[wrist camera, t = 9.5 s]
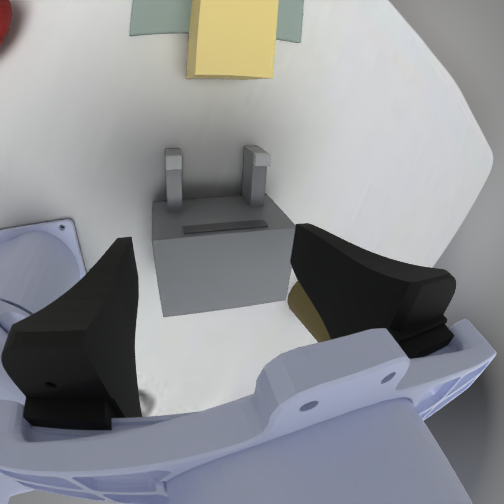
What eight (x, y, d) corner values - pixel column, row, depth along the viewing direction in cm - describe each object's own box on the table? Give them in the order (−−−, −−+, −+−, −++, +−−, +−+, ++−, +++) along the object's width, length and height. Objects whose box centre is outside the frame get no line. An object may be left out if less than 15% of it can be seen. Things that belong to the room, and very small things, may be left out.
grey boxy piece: (159, 267, 24) (163, 317, 19) (149, 149, 19) (146, 173, 14) (260, 257, 27) (285, 299, 22) (270, 146, 21) (306, 167, 17)
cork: (318, 260, 29) (380, 338, 20) (346, 285, 32) (401, 354, 23) (276, 301, 30) (323, 387, 21) (308, 320, 34) (353, 394, 25)
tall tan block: (186, 78, 17) (195, 74, 12) (194, -23, 12) (207, -54, 8) (244, 79, 18) (272, 78, 13) (252, -18, 14) (281, -44, 9)
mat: (130, 36, 14) (129, 35, 14) (137, -29, 11) (137, -31, 11) (298, 43, 17) (300, 42, 17) (302, -16, 14) (304, -18, 14)
